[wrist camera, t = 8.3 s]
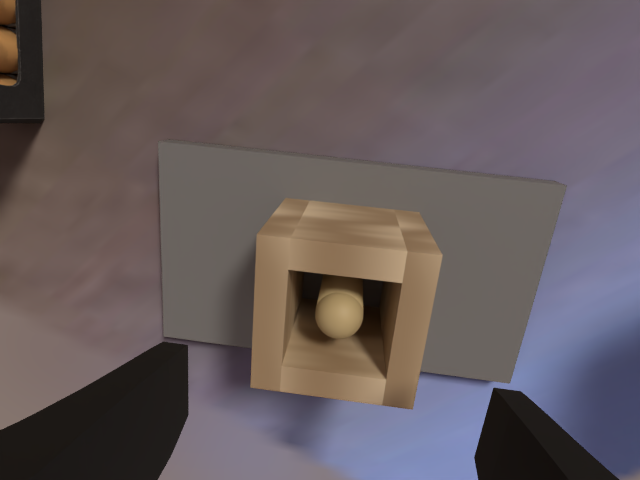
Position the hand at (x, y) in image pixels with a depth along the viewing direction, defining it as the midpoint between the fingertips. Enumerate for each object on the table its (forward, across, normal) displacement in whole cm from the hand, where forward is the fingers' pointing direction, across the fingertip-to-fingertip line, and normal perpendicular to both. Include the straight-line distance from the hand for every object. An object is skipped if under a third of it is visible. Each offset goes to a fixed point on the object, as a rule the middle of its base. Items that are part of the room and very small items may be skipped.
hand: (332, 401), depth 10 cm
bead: (+8, 0, 0) cm, 8 cm away
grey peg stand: (+9, 0, 0) cm, 9 cm away
